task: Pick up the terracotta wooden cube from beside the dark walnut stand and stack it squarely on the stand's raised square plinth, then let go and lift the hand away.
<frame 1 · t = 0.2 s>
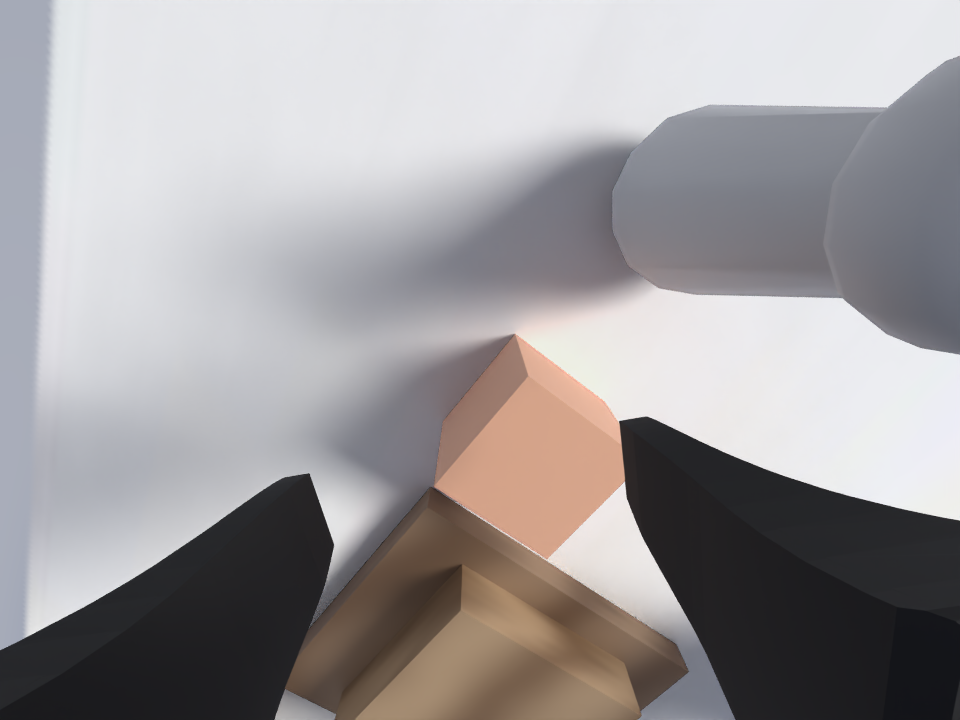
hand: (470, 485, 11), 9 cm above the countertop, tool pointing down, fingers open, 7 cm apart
cube: (523, 410, 20), on the countertop
base: (481, 650, 24), on the countertop
salt shaker: (669, 204, 18), on the countertop
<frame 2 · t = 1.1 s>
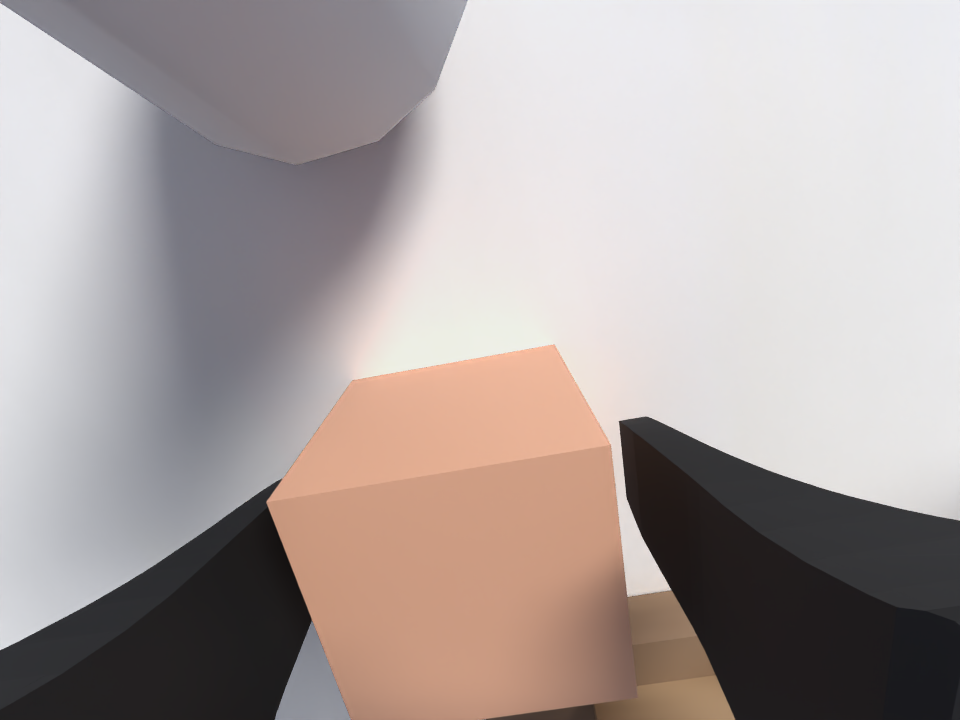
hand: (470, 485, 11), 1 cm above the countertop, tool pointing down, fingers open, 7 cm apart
cube: (471, 450, 12), on the countertop
salt shaker: (326, 13, 9), on the countertop
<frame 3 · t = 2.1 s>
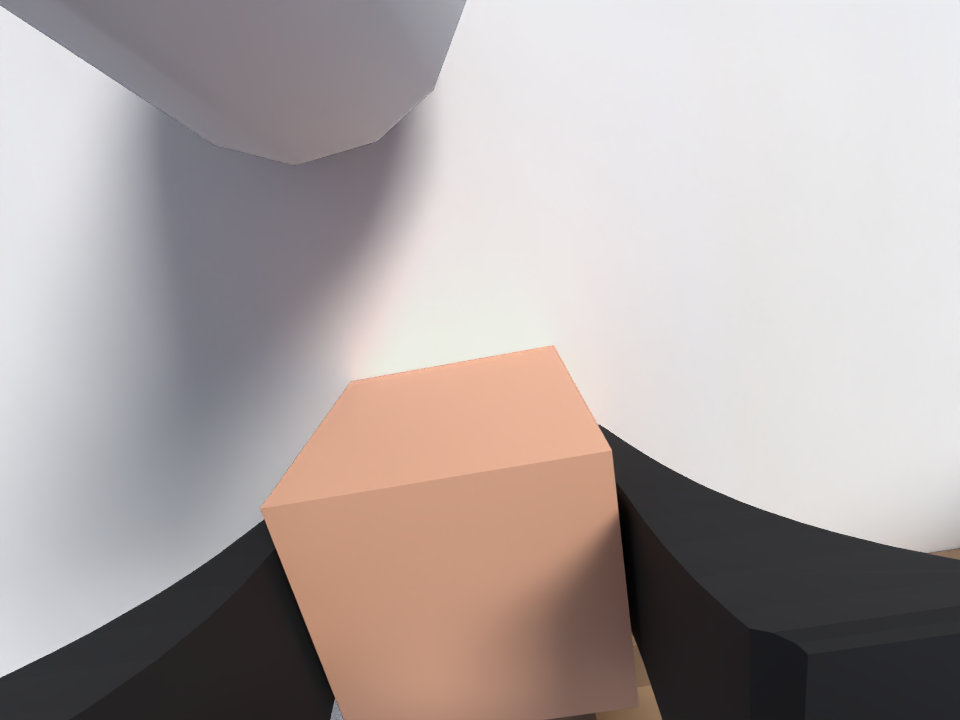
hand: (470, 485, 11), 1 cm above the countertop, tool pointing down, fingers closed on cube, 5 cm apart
cube: (470, 453, 12), on the countertop, touching gripper
salt shaker: (324, 13, 9), on the countertop
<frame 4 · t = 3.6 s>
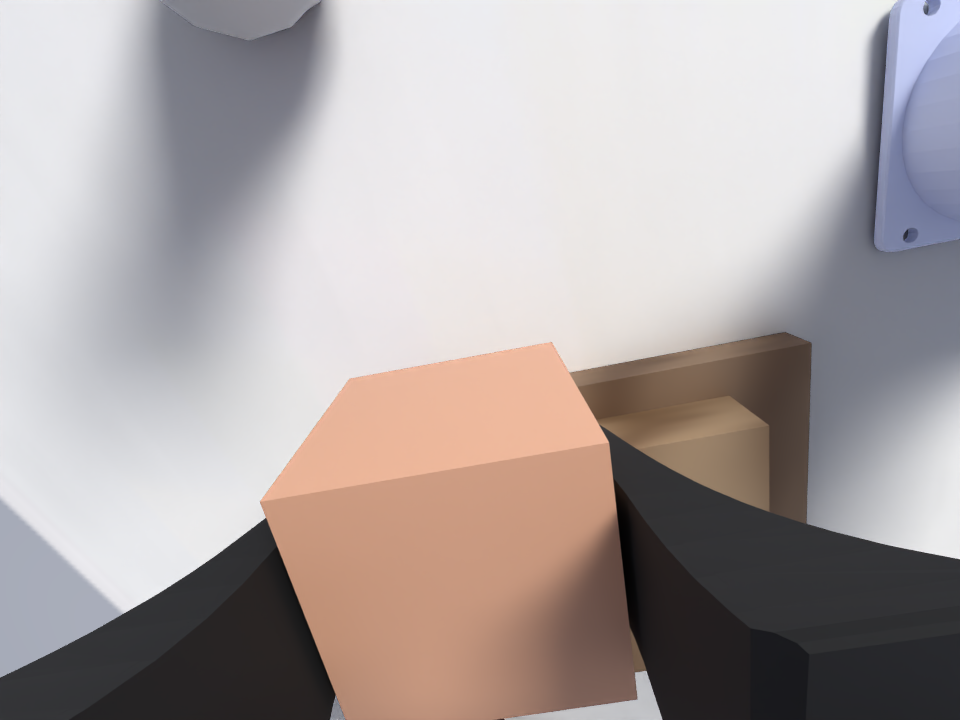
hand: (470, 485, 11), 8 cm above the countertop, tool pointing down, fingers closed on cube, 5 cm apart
cube: (469, 450, 12), point 7 cm above the countertop, touching gripper
base: (601, 504, 21), on the countertop
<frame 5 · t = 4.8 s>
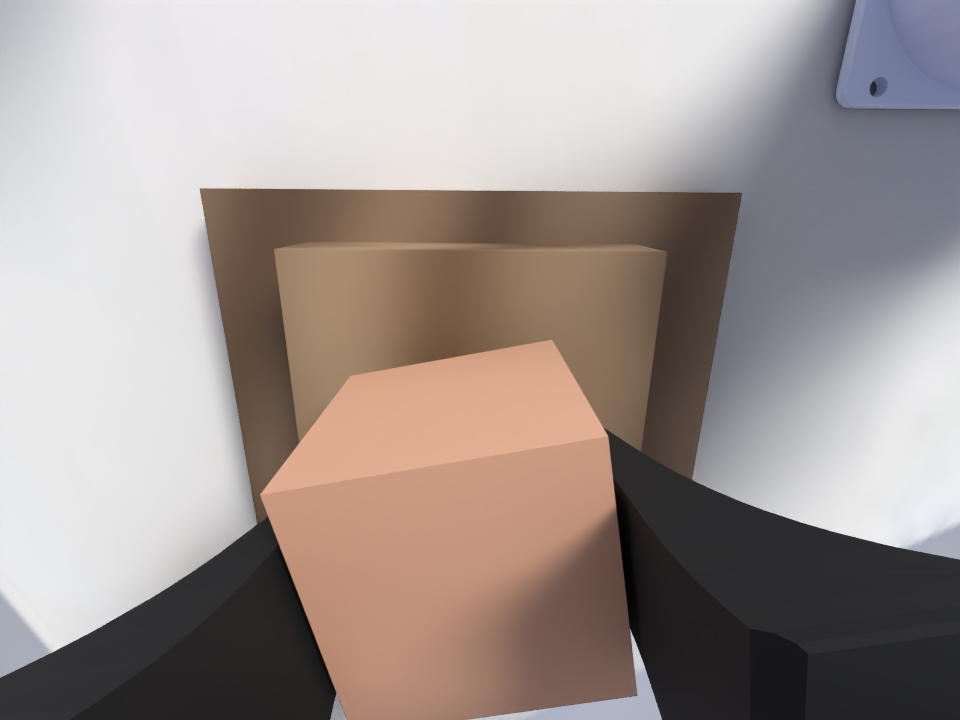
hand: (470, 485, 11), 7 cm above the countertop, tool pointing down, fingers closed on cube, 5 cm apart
cube: (469, 448, 12), point 5 cm above the countertop, touching gripper
base: (472, 378, 17), on the countertop
when the fingers open (7 cm above the countertop, at t = 5.4 s): cube drops 1 cm, resting on base.
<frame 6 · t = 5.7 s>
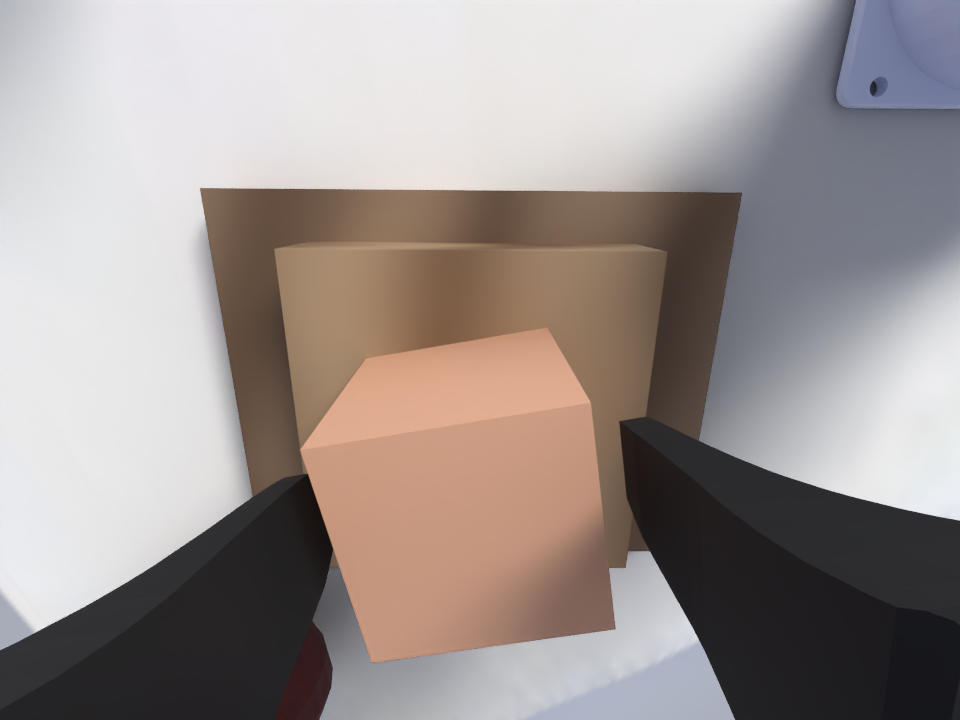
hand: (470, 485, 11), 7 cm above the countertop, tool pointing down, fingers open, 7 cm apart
cube: (472, 425, 13), point 4 cm above the countertop, touching base
base: (472, 378, 17), on the countertop
potato: (265, 611, 21), on the countertop
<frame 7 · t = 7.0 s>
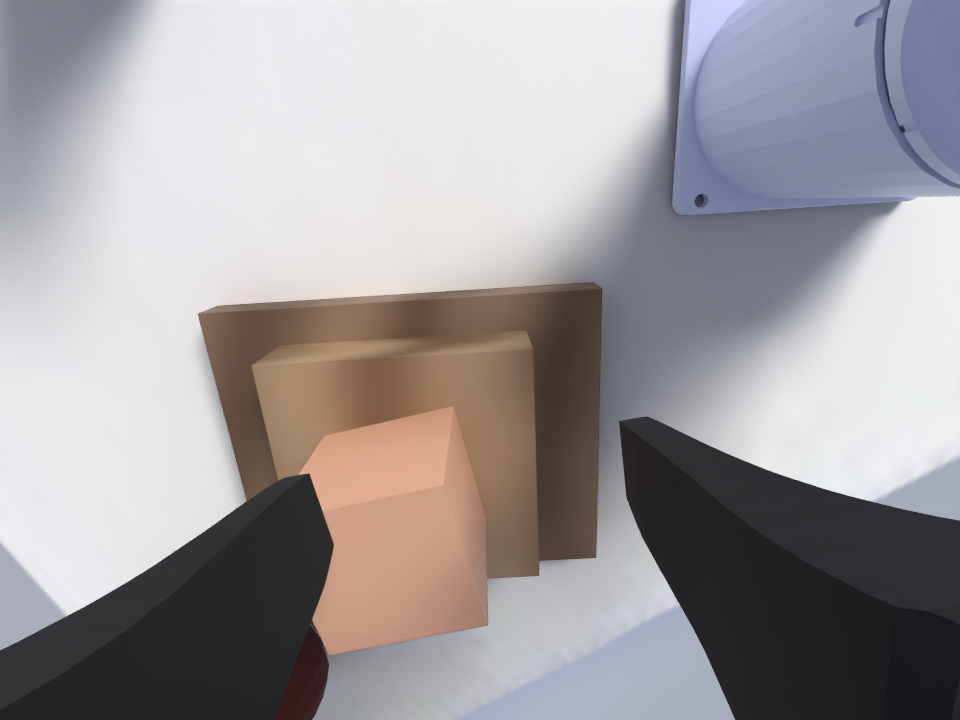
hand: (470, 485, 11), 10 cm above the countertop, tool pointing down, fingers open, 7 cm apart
cube: (407, 477, 18), point 4 cm above the countertop, touching base
base: (419, 431, 22), on the countertop
potato: (275, 621, 26), on the countertop
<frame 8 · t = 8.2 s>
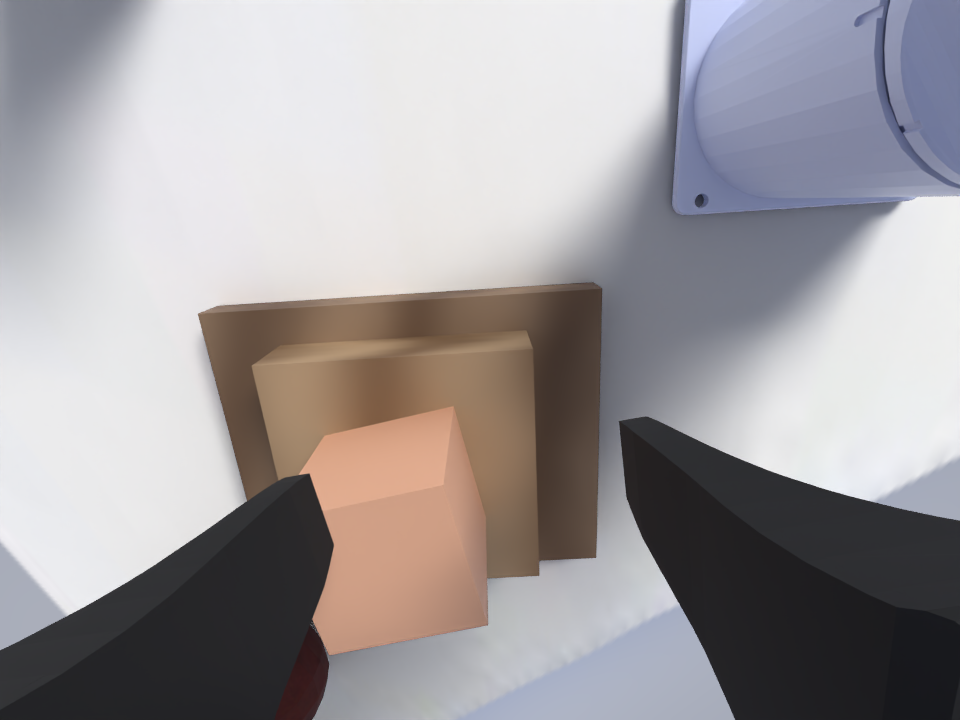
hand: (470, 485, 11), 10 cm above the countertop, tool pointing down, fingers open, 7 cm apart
cube: (407, 477, 18), point 4 cm above the countertop, touching base
base: (420, 431, 22), on the countertop
potato: (275, 621, 26), on the countertop
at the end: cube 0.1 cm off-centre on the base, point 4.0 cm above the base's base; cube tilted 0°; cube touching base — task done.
